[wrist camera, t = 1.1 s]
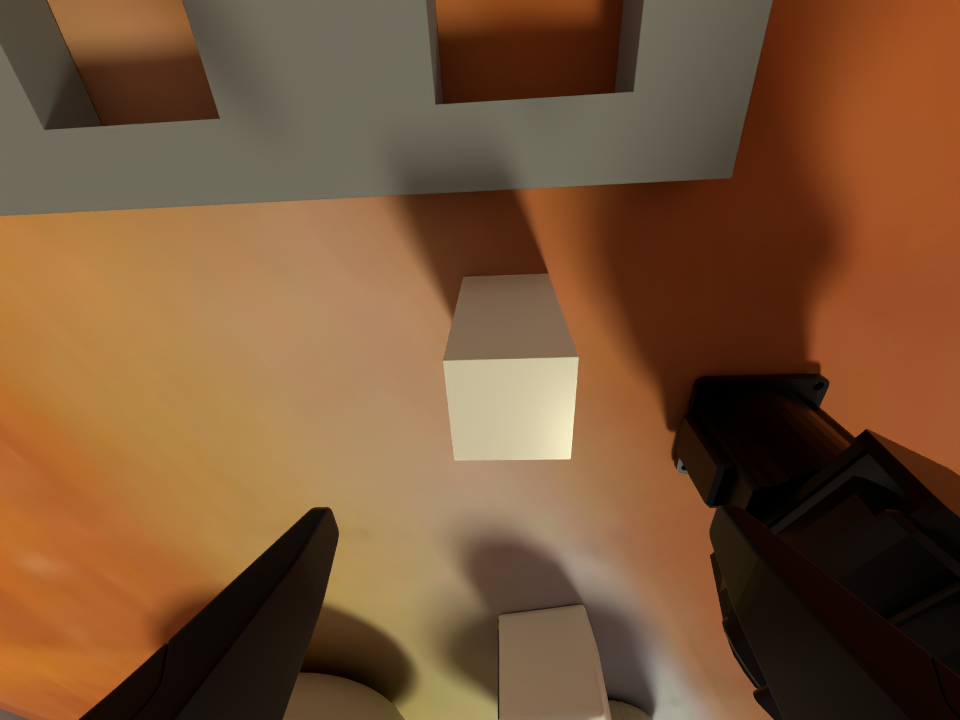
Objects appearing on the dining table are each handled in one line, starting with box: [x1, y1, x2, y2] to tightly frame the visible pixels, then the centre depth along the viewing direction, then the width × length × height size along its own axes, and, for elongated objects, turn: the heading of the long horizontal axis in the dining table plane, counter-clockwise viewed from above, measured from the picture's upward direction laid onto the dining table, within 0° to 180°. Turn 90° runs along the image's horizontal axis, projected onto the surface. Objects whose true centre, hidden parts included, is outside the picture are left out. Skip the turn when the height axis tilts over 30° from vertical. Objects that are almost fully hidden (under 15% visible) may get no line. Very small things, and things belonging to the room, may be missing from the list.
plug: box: [443, 273, 579, 461], centre depth 16 cm, size 4×4×8 cm
